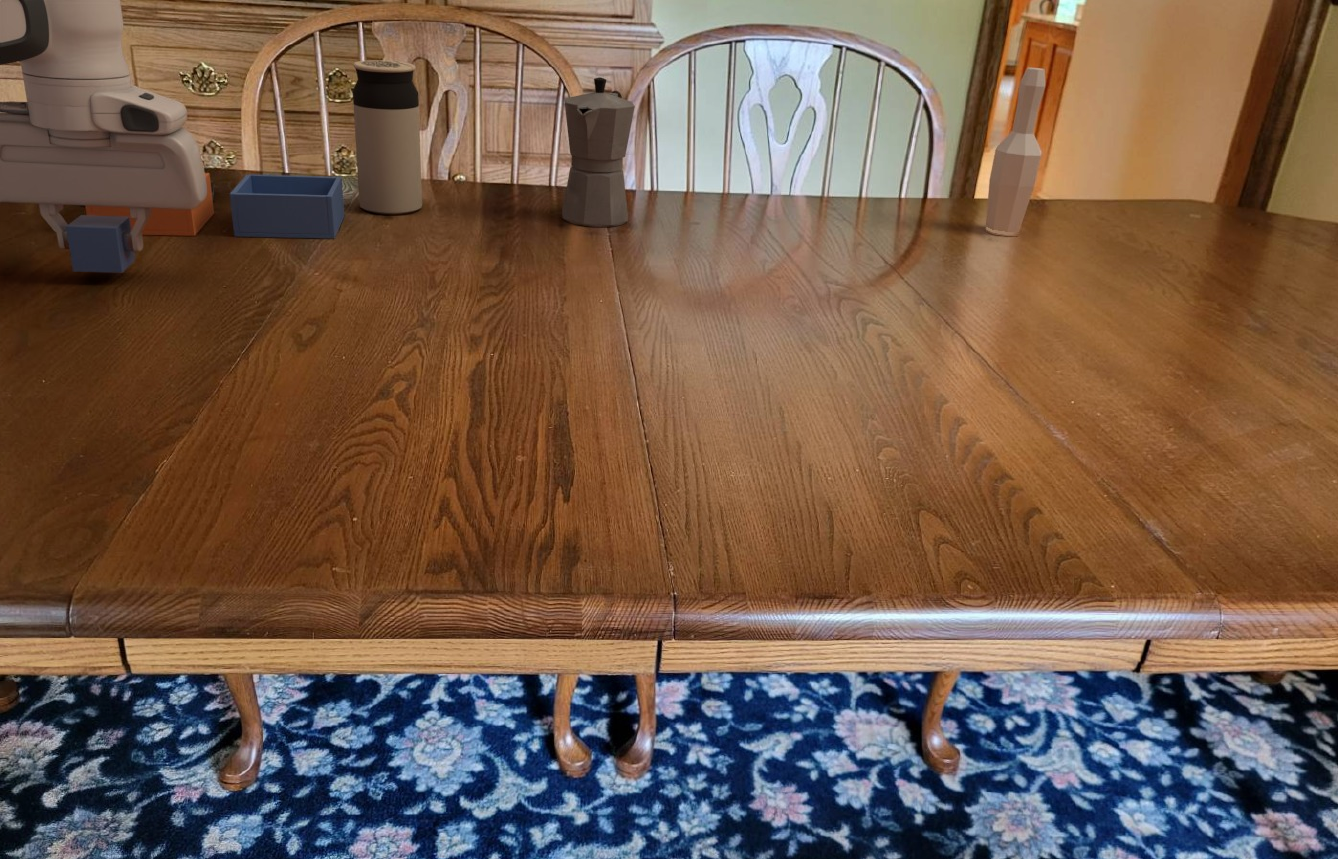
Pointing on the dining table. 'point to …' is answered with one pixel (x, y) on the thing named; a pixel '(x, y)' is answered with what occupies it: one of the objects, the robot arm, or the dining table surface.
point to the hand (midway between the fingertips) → (102, 248)
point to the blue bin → (287, 206)
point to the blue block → (99, 244)
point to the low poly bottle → (1016, 160)
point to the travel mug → (387, 137)
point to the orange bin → (166, 217)
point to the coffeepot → (597, 157)
